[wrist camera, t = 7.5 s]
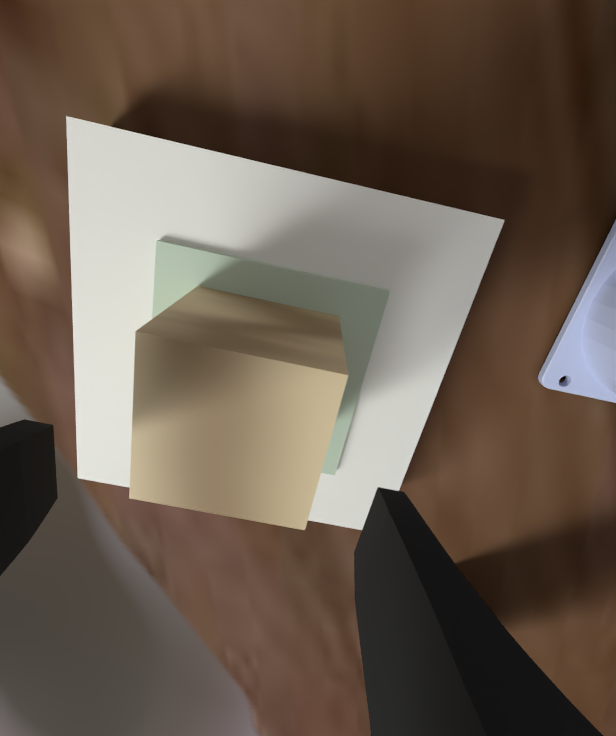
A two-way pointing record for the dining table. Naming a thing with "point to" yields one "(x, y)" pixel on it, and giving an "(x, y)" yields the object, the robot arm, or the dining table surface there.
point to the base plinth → (266, 289)
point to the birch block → (235, 406)
